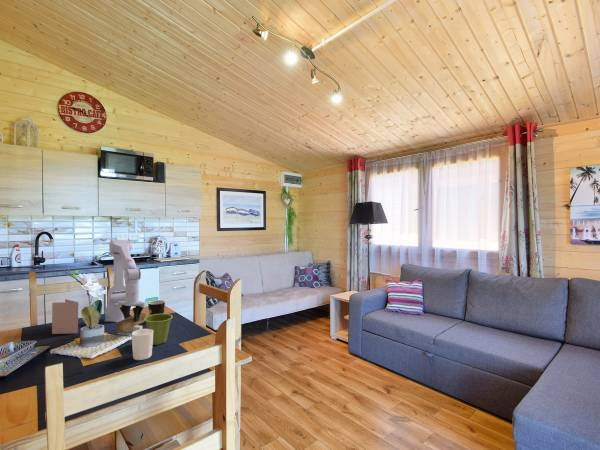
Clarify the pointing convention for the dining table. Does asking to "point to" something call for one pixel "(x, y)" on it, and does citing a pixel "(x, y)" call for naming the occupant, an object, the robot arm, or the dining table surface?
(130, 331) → the fulcrum
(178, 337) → the dining table surface
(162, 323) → the plant pot
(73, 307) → the greeting card
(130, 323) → the walnut bar
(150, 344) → the white cup
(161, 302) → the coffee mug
